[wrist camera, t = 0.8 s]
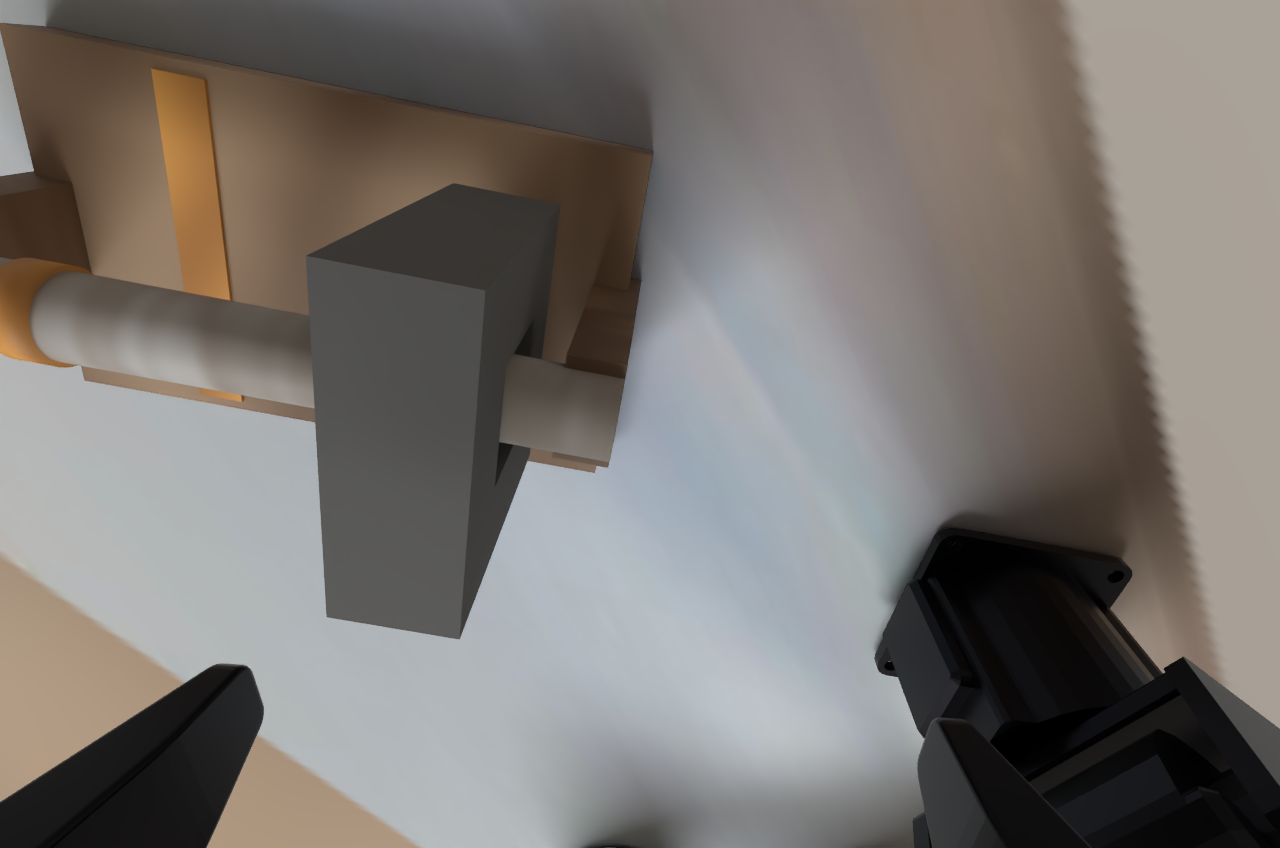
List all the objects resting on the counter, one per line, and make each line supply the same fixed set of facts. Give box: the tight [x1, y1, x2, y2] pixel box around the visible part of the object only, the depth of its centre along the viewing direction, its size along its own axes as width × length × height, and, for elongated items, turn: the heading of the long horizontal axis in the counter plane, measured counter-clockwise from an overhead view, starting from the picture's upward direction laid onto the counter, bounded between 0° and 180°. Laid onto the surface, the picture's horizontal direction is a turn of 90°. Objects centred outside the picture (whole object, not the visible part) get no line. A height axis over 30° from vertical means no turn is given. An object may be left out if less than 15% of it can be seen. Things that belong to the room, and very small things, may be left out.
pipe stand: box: [0, 23, 653, 473], centre depth 15 cm, size 16×9×7 cm, turn 80°
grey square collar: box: [306, 183, 561, 639], centre depth 13 cm, size 2×7×7 cm, turn 170°
